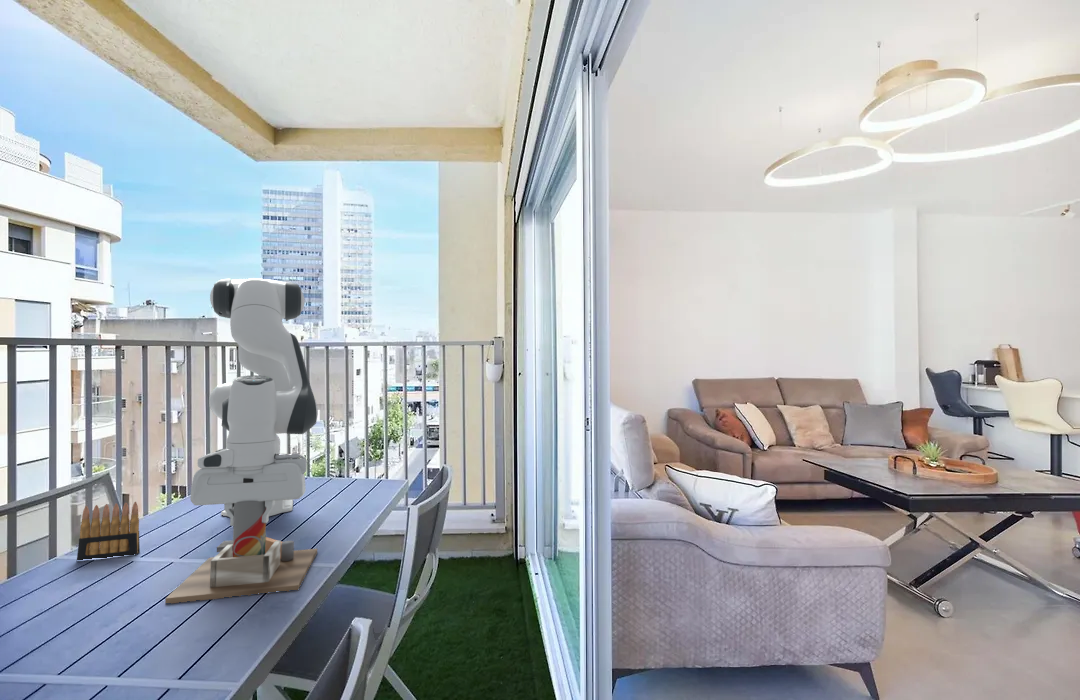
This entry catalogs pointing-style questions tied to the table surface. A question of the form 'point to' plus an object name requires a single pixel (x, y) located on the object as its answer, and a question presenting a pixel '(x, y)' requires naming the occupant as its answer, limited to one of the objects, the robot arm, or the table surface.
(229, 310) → the robot arm
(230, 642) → the table surface
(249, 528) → the lotion bottle
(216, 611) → the table surface
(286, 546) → the arm
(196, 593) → the cradle
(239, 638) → the table surface
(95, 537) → the ammunition clip
